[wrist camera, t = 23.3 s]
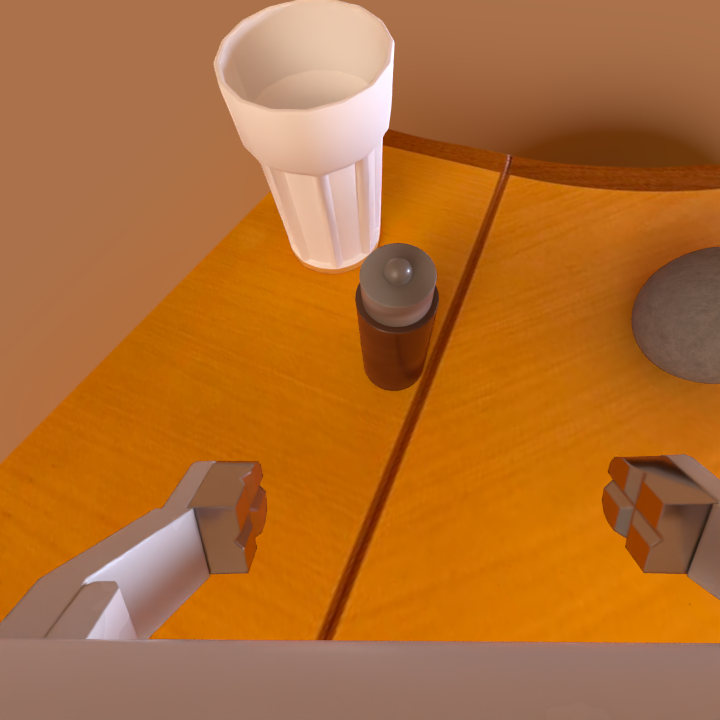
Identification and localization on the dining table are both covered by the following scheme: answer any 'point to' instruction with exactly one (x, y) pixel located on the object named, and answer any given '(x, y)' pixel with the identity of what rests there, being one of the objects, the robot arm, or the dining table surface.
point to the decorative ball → (682, 317)
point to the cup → (315, 120)
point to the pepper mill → (396, 313)
